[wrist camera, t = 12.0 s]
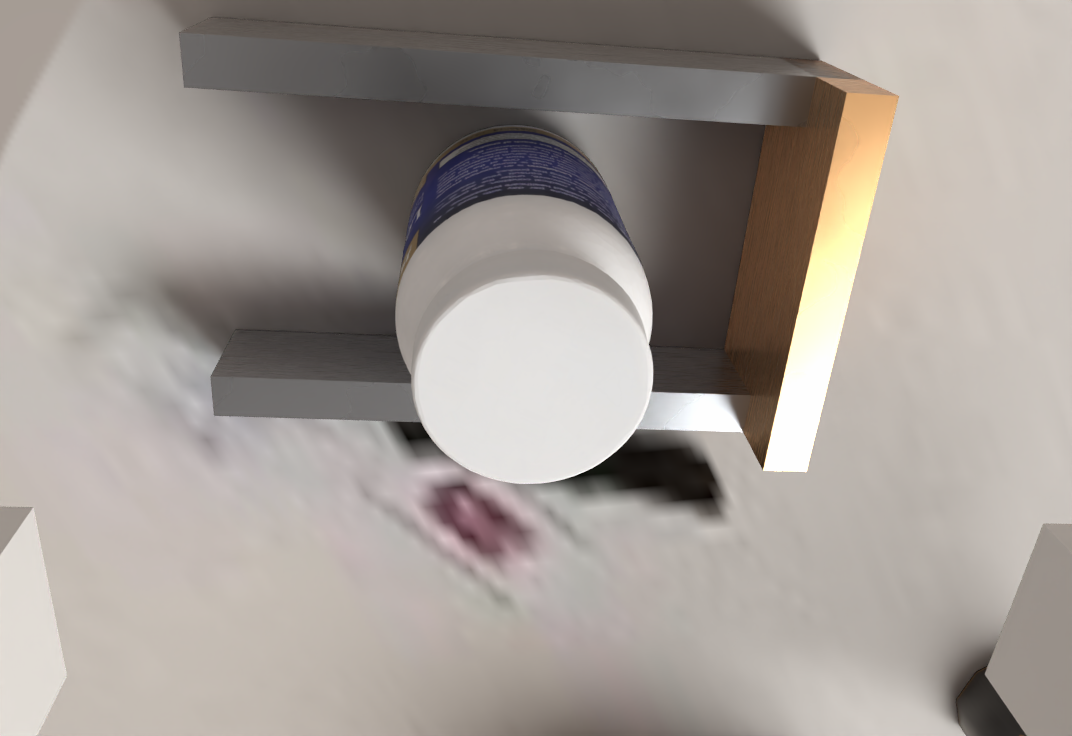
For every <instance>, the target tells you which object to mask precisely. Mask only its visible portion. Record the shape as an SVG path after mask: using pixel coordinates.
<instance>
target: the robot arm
mask: <svg viewBox="0 0 1072 736" xmlns="http://www.w3.org/2000/svg"><path fill="white" fill-rule="evenodd" d="M985 676H986V677H987V679H988V680H989V681H990V683H991V684H992V686H993V687H994V689H995V690H996V692H997V693H998V695H999V696H1000V697H1001V699H1002V700H1003V702H1004V703H1005V705H1006V706H1007V708H1008V709H1009V711H1010V712H1011V713H1012V715H1013V716H1014V718H1015V719H1016V721H1017V722H1018V724H1019V725H1020V727H1021V728H1022V729H1023V731H1024V732H1025V734H1026V735H1027V736H1072V524H1043V526H1042V528H1041V531H1040V534H1039V536H1038V539H1037V541H1036V544H1035V546H1034V549H1033V552H1032V554H1031V557H1030V559H1029V562H1028V564H1027V567H1026V569H1025V572H1024V575H1023V577H1022V580H1021V582H1020V585H1019V587H1018V590H1017V593H1016V595H1015V598H1014V600H1013V603H1012V605H1011V608H1010V611H1009V613H1008V616H1007V618H1006V621H1005V623H1004V626H1003V628H1002V631H1001V634H1000V636H999V639H998V641H997V644H996V646H995V649H994V652H993V654H992V657H991V659H990V662H989V664H988V667H987V669H986V672H985ZM66 677H67V674H66V669H65V664H64V659H63V654H62V649H61V644H60V639H59V634H58V629H57V624H56V619H55V614H54V608H53V603H52V598H51V593H50V588H49V583H48V578H47V573H46V568H45V563H44V558H43V553H42V548H41V543H40V538H39V533H38V528H37V523H36V518H35V513H34V508H33V507H0V736H37V735H38V733H39V731H40V729H41V727H42V725H43V723H44V721H45V719H46V717H47V715H48V713H49V711H50V709H51V707H52V705H53V703H54V701H55V699H56V697H57V695H58V693H59V691H60V689H61V687H62V685H63V683H64V681H65V679H66Z"/></svg>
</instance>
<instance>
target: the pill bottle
mask: <svg viewBox="0 0 1072 736" xmlns="http://www.w3.org/2000/svg"><path fill="white" fill-rule="evenodd" d="M652 315H653V312H652V299H651V294H650V290H649V285H648V281H647V278H646V276H645V273H644V269H643V265H642V263H641V261H640V259H639V256H638V254H637V252H636V250H635V248H634V246H633V244H632V242H631V240H630V237H629V235H628V233H627V231H626V229H625V227H624V224H623V222H622V220H621V218H620V215H619V213H618V211H617V208H616V206H615V204H614V201H613V199H612V196H611V194H610V192H609V190H608V188H607V186H606V184H605V182H604V180H603V178H602V176H601V175H600V173H599V171H598V170H597V168H596V167H595V166H594V165H593V163H592V162H591V161H590V160H589V158H588V157H587V156H586V155H585V154H584V153H583V152H582V151H580V150H579V149H578V148H577V147H575V146H574V145H573V144H572V143H570V142H569V141H567V140H565V139H564V138H562V137H560V136H558V135H556V134H554V133H551V132H548V131H546V130H543V129H540V128H535V127H530V126H521V125H503V126H495V127H490V128H486V129H483V130H480V131H476V132H474V133H472V134H469V135H467V136H465V137H463V138H461V139H460V140H458V141H457V142H455V143H453V144H452V145H451V146H449V147H448V148H447V149H446V150H444V151H443V152H442V153H441V154H440V155H439V156H438V157H437V158H436V160H435V161H434V162H433V163H432V164H431V166H430V167H429V168H428V170H427V171H426V173H425V174H424V176H423V178H422V180H421V182H420V184H419V186H418V188H417V191H416V193H415V196H414V200H413V203H412V207H411V212H410V217H409V223H408V228H407V234H406V241H405V246H404V250H403V259H402V265H401V271H400V277H399V283H398V288H397V295H396V307H395V323H396V334H397V339H398V343H399V348H400V351H401V354H402V357H403V360H404V362H405V364H406V366H407V368H408V370H409V372H410V374H411V388H412V395H413V401H414V404H415V408H416V411H417V414H418V416H419V418H420V421H421V423H422V425H423V426H424V428H425V430H426V431H427V433H428V434H429V436H430V437H431V439H432V440H433V441H434V442H435V444H436V445H437V446H438V447H439V448H440V449H441V450H442V451H443V452H444V453H445V454H446V455H448V456H449V457H450V458H451V459H453V460H454V461H455V462H457V463H458V464H460V465H461V466H463V467H465V468H466V469H468V470H470V471H472V472H475V473H477V474H479V475H482V476H485V477H488V478H491V479H495V480H499V481H504V482H509V483H517V484H535V483H547V482H553V481H558V480H562V479H566V478H569V477H572V476H575V475H578V474H580V473H583V472H585V471H587V470H589V469H591V468H593V467H595V466H596V465H598V464H600V463H601V462H603V461H604V460H605V459H607V458H608V457H609V456H611V455H612V454H613V453H614V452H616V451H617V450H618V449H619V448H620V447H621V446H622V445H623V444H624V443H625V442H626V441H627V440H628V439H629V438H630V436H631V435H632V434H633V433H634V431H635V429H636V428H637V426H638V425H639V423H640V422H641V420H642V418H643V416H644V414H645V411H646V409H647V406H648V404H649V400H650V396H651V391H652V385H653V361H652V354H651V350H650V347H649V341H650V336H651V331H652Z"/></svg>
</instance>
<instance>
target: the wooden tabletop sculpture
mask: <svg viewBox="0 0 1072 736" xmlns="http://www.w3.org/2000/svg"><path fill="white" fill-rule="evenodd" d="M986 669H987V667H986V668H984V669H982V670H980V671H978V672H976V673H975V674H974V676H973V677H972V679H971V680H970V681H969V683H968V684H967V686H966V687H965V688H964V690H963V691H962V692H961V694H960V695H959V697H958V698H957V699H956V702H957V710H958V718H959V725H960V727H961V729H962V730H963V732H964V733H965V735H966V736H1027V735H1026V734H1025V732H1024V731H1023V729H1022V728H1021V727H1020V725H1019V724H1018V722H1017V721H1016V719H1015V718H1014V716H1013V715H1012V713H1011V712H1010V711H1009V709H1008V708H1007V706H1006V705H1005V703H1004V702H1003V700H1002V699H1001V697H1000V696H999V695H998V693H997V692H996V690H995V689H994V687H993V686H992V684H991V683H990V681H989V680H988V679H987V677H986V676H985V672H986Z"/></svg>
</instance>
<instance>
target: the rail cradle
mask: <svg viewBox="0 0 1072 736" xmlns="http://www.w3.org/2000/svg"><path fill="white" fill-rule="evenodd" d="M179 36H180V47H181V58H182V69H183V80H184V87H185V88H201V89H217V90H232V91H248V92H263V93H279V94H294V95H310V96H325V97H341V98H357V99H372V100H388V101H403V102H419V103H434V104H450V105H466V106H481V107H497V108H512V109H528V110H543V111H559V112H575V113H590V114H606V115H621V116H637V117H652V118H668V119H684V120H699V121H715V122H730V123H746V124H761V125H766V127H765V133H764V138H763V143H762V149H761V154H760V159H759V165H758V170H757V176H756V181H755V186H754V192H753V197H752V202H751V208H750V213H749V219H748V224H747V229H746V235H745V240H744V245H743V251H742V256H741V262H740V267H739V272H738V278H737V283H736V288H735V294H734V299H733V305H732V310H731V315H730V321H729V326H728V331H727V337H726V342H725V348H724V349H706V348H681V347H656V346H649V347H650V350H651V354H652V361H653V385H652V391H651V396H650V400H649V404H648V406H647V409H646V411H645V414H644V416H643V418H642V420H641V422H640V423H639V425H638V426H637V428H636V429H659V430H691V431H723V432H743V433H744V435H745V436H746V438H747V440H748V442H749V444H750V446H751V448H752V450H753V452H754V454H755V456H756V458H757V459H758V461H759V463H760V465H761V467H762V469H763V470H765V471H802V472H806V471H807V467H808V463H809V459H810V455H811V451H812V447H813V443H814V439H815V435H816V431H817V427H818V423H819V419H820V415H821V411H822V407H823V403H824V398H825V394H826V390H827V386H828V382H829V378H830V374H831V370H832V366H833V362H834V358H835V354H836V350H837V346H838V342H839V338H840V334H841V329H842V325H843V321H844V317H845V313H846V309H847V305H848V301H849V297H850V293H851V289H852V285H853V281H854V277H855V273H856V269H857V265H858V261H859V256H860V252H861V248H862V244H863V240H864V236H865V232H866V228H867V224H868V220H869V216H870V212H871V208H872V204H873V200H874V196H875V192H876V188H877V183H878V179H879V175H880V171H881V167H882V163H883V159H884V155H885V151H886V147H887V143H888V139H889V135H890V131H891V127H892V123H893V119H894V114H895V110H896V106H897V102H898V98H899V96H898V95H895V94H893V93H891V92H889V91H887V90H884V89H882V88H880V87H878V86H876V85H874V84H871V83H869V82H867V81H865V80H863V79H860V78H858V77H856V76H854V75H852V74H850V73H847V72H845V71H843V70H841V69H839V68H836V67H834V66H832V65H830V64H828V63H826V62H823V61H819V60H805V59H791V58H777V57H763V56H749V55H735V54H721V53H707V52H693V51H679V50H665V49H651V48H637V47H623V46H609V45H595V44H581V43H567V42H553V41H539V40H525V39H511V38H497V37H483V36H469V35H455V34H441V33H427V32H413V31H399V30H385V29H371V28H357V27H343V26H329V25H315V24H301V23H288V22H274V21H260V20H246V19H232V18H218V17H211V18H209V19H207V20H204V21H202V22H200V23H198V24H196V25H194V26H192V27H190V28H188V29H185V30H183V31H181V32H179ZM211 387H212V398H213V409H214V416H244V417H275V418H307V419H339V420H371V421H403V422H421V421H420V418H419V416H418V414H417V411H416V408H415V404H414V401H413V395H412V388H411V374H410V372H409V370H408V368H407V366H406V364H405V362H404V360H403V357H402V354H401V351H400V348H399V343H398V339H397V336H381V335H356V334H331V333H306V332H281V331H256V330H235V331H234V333H233V335H232V337H231V339H230V341H229V343H228V344H227V346H226V348H225V350H224V352H223V354H222V356H221V358H220V360H219V361H218V363H217V365H216V367H215V369H214V371H213V373H212V375H211Z"/></svg>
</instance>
